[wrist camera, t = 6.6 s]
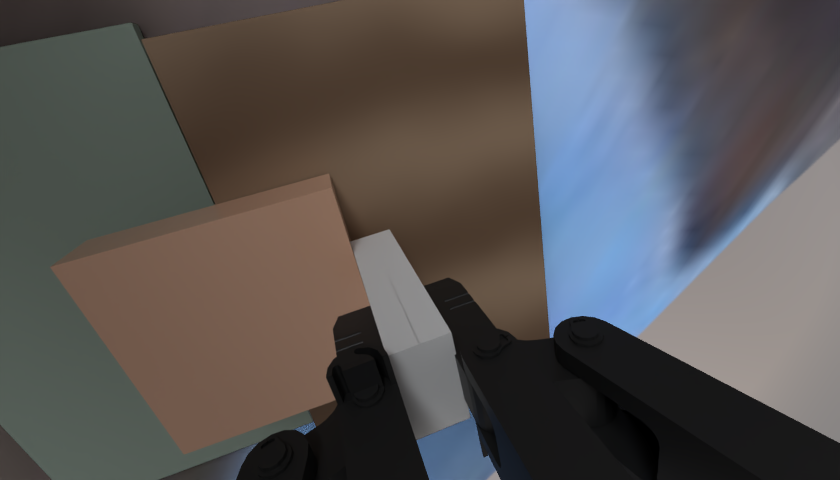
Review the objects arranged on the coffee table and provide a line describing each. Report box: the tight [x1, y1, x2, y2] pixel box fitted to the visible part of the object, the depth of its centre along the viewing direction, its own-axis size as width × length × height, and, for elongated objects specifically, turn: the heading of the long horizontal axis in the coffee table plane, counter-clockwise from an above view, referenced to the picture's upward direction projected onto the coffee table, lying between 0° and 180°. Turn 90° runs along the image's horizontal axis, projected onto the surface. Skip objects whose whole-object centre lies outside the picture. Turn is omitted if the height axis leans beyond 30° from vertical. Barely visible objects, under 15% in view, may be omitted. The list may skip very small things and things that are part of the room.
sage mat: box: [0, 23, 313, 480], centre depth 17 cm, size 20×12×1 cm, turn 12°
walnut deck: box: [141, 0, 550, 427], centre depth 18 cm, size 18×12×4 cm, turn 12°
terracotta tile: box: [50, 174, 370, 455], centre depth 14 cm, size 8×8×2 cm
